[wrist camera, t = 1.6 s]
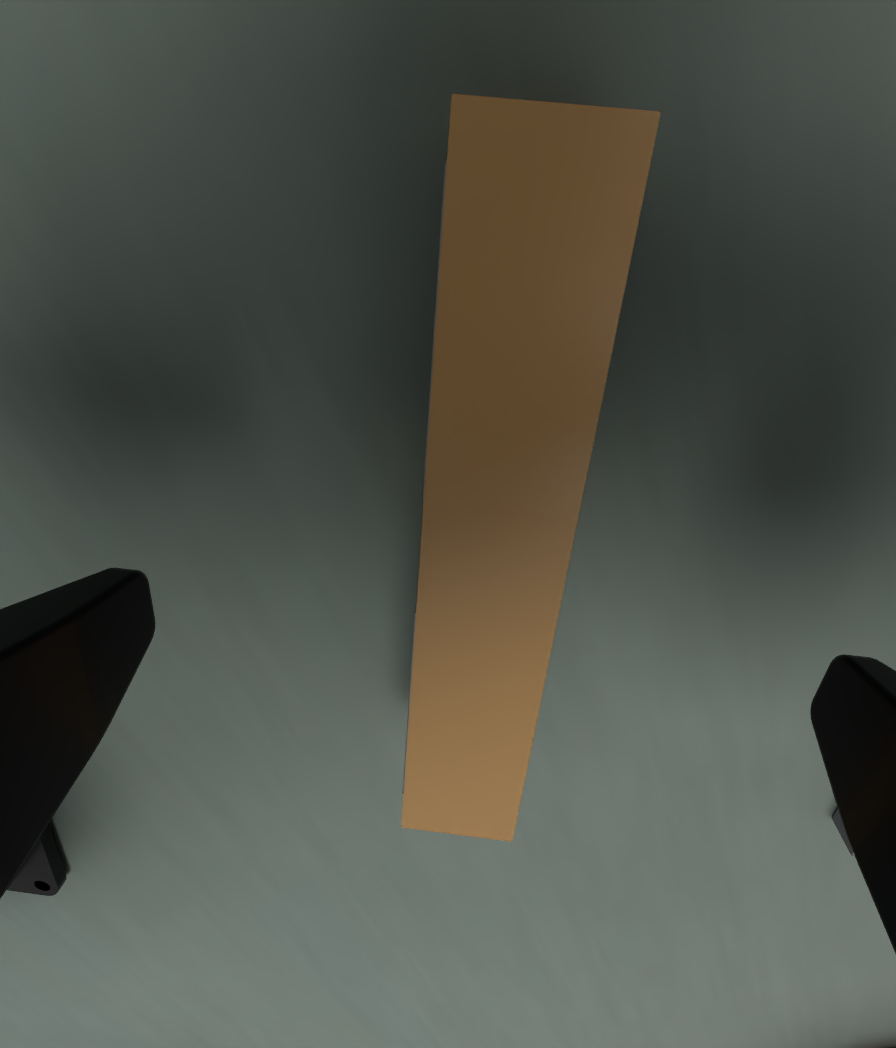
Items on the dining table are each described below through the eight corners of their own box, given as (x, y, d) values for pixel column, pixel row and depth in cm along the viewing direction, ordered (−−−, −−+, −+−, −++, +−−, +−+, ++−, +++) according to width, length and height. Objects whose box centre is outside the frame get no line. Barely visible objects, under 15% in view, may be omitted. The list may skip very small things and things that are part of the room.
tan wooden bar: (512, 711, 15) (515, 841, 12) (420, 700, 15) (398, 826, 12) (614, 140, 10) (665, 111, 6) (466, 127, 10) (447, 93, 7)
